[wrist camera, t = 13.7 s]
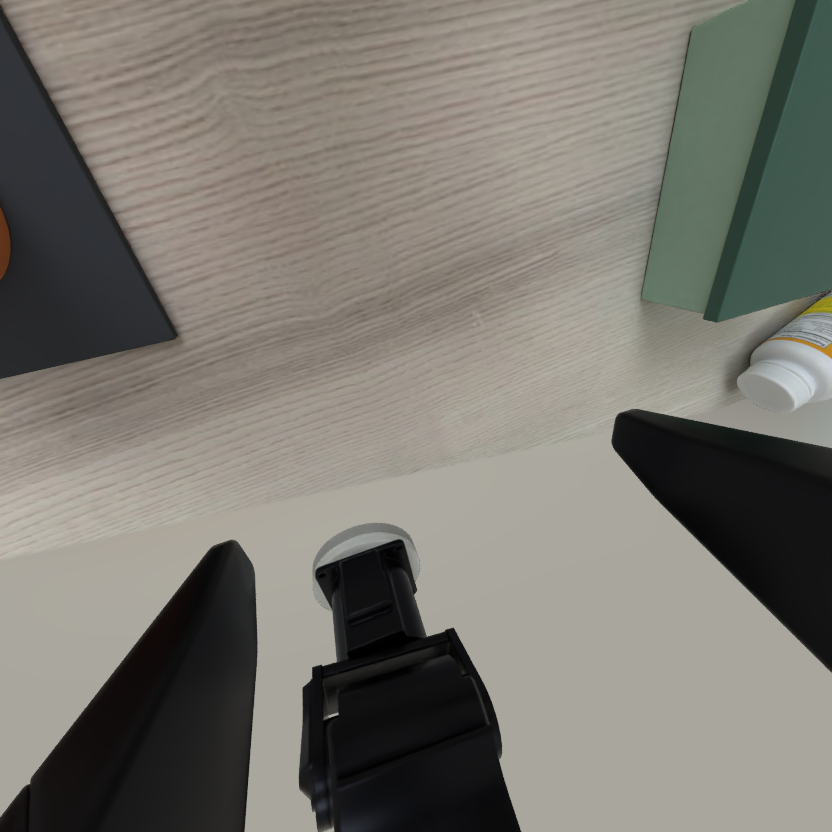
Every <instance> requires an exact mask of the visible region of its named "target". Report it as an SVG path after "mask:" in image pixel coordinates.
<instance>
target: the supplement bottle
mask: <svg viewBox="0 0 832 832" xmlns="http://www.w3.org/2000/svg"><path fill="white" fill-rule="evenodd" d="M750 364H751V366H750V367H749V368H748V369H747V370H746V371H745V372H743V373H742V374H741V375H740V376H739V377H738V379H737V385H738V388H739V390H740V391H741V393H742V394H743V395H744V396H745V397H746V398H747V399H748V400H750V401H751V402H753V403H754V404H756V405H758V406H759V407H761V408H763V409H766V410H768V411H772V412H776V413H789V412H792V411H794V410H795V409H797V408H798V407H799V406H801V405H803V404H805V403H806V402H821V401H826V400H829V399H832V291H831V292H829V293H828V294H827V295H825V296H824V297H823V298H821V299H820V300H819V301H817V302H816V303H815V304H813V305H812V306H811V307H809V308H808V309H807V310H806V311H804V312H803V313H802V314H800V315H799V316H798V317H796V318H795V319H794V320H792V321H791V322H790V323H788V324H787V325H786V326H785V327H783V328H782V329H781V330H779V331H778V332H777V333H775V334H774V335H773V336H771V337H770V338H769V339H768V340H766V341H765V342H764V343H762V344H761V345H760V346H759V347H757V348H756V349H755V350H754V352H753V353H752V355H751V359H750Z"/></svg>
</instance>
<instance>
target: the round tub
mask: <svg viewBox="0 0 832 832" xmlns="http://www.w3.org/2000/svg"><path fill="white" fill-rule="evenodd" d="M10 253H11V242H10V235H9V230H8V226H7V223H6V220H5V217H4V214H3V212H2V210H1V207H0V280H1V279H2V277H3V276H4V274H5V272H6V269H7V267H8V264H9V259H10Z"/></svg>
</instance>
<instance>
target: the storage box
mask: <svg viewBox="0 0 832 832" xmlns="http://www.w3.org/2000/svg"><path fill="white" fill-rule="evenodd" d="M831 289H832V0H748V1H745V2H743V3H741V4H739V5H737V6H735V7H733V8H731V9H729V10H727V11H725V12H723V13H721V14H719V15H717V16H715V17H713V18H711V19H709V20H706V21H704V22H702V23H700V24H698V25H696V26H694V27H693V28H692V32H691V37H690V42H689V48H688V53H687V58H686V64H685V69H684V74H683V79H682V85H681V90H680V95H679V101H678V106H677V111H676V117H675V122H674V127H673V132H672V138H671V143H670V148H669V154H668V159H667V164H666V169H665V175H664V180H663V185H662V191H661V196H660V201H659V207H658V212H657V217H656V222H655V228H654V233H653V238H652V244H651V249H650V254H649V259H648V265H647V270H646V275H645V281H644V286H643V291H642V297H641V299H642V300H647V301H651V302H655V303H659V304H664V305H668V306H672V307H677V308H681V309H685V310H689V311H694V312H698V313H702V314H704V316H703V319H704V320H708V321H712V322H716V323H717V322H721V321H724V320H728V319H731V318H735V317H738V316H742V315H745V314H748V313H752V312H755V311H759V310H762V309H766V308H769V307H772V306H776V305H779V304H783V303H786V302H790V301H793V300H797V299H800V298H803V297H807V296H810V295H814V294H817V293H821V292H824V291H827V290H831Z"/></svg>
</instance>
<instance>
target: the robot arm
mask: <svg viewBox="0 0 832 832" xmlns="http://www.w3.org/2000/svg"><path fill="white" fill-rule="evenodd" d="M612 446H613V448H614V450H615V451H616V452H617V453H618V454H619V456H620V457H621V458H622V459H623V461H624V462H625V463H626V464H627V465H628V466H629V468H630V469H631V470H632V471H633V472H634V474H635V475H636V476H637V477H638V478H639V479H640V481H641V482H642V483H643V484H644V485H645V487H646V488H647V489H648V490H649V491H650V492H651V494H652V495H653V496H654V497H655V498H656V499H657V500H658V501H659V502H660V503H661V504H662V505H663V506H664V507H665V508H666V509H667V510H668V511H669V512H670V513H671V514H672V515H673V516H674V517H675V518H676V519H677V520H678V521H679V522H680V523H681V524H682V525H683V526H684V527H685V528H686V529H687V530H688V531H689V532H690V533H691V534H692V535H693V536H694V537H695V538H696V539H697V540H698V541H699V542H700V543H701V544H702V545H703V546H704V547H705V548H706V549H707V550H708V551H709V552H710V553H711V554H712V555H713V556H714V557H715V558H716V559H717V560H718V561H719V562H720V563H721V564H722V565H723V566H724V567H725V568H726V569H727V570H728V571H729V572H730V573H731V574H732V575H733V576H735V578H736V579H737V580H739V582H740V583H742V584H743V585H744V586H745V587H746V588H747V589H748V590H749V591H750V592H751V593H752V594H753V595H754V596H755V597H756V598H757V599H758V600H759V601H760V602H761V603H762V604H763V605H764V606H765V607H766V608H767V609H768V610H769V611H770V612H771V613H772V614H773V615H774V616H775V617H776V618H777V619H778V620H779V621H780V622H781V623H782V624H783V625H784V626H785V627H786V628H787V629H788V630H789V631H790V632H791V633H792V634H793V635H794V636H795V637H796V638H797V639H798V640H799V641H800V642H801V643H802V644H803V645H804V646H805V647H806V648H807V649H808V650H809V651H810V652H811V653H812V654H813V655H814V656H815V657H816V658H817V659H818V660H819V661H820V662H822V664H824V665H825V667H826V668H827V669H829V670H830V671H831V672H832V448H828V447H823V446H818V445H813V444H808V443H803V442H798V441H793V440H788V439H783V438H778V437H773V436H768V435H763V434H758V433H753V432H748V431H743V430H738V429H733V428H728V427H723V426H718V425H713V424H709V423H703V422H698V421H694V420H688V419H683V418H679V417H674V416H669V415H664V414H659V413H654V412H649V411H644V410H639V409H631V410H628V411H625V412H622V413H620V414H618V415H617V417H616V419H615V424H614V429H613V435H612ZM315 579H316V581H317V582H318V584H319V586H320V588H321V590H322V592H323V594H324V596H325V598H326V600H327V601H328V603H329V605H330V607H331V609H332V611H333V623H334V634H335V643H336V657H337V662H336V663H332V664H329V665H325V666H322V665H319V666H315V667H313V668H312V679H311V681H310V682H309V683H308V684H307V685H305V686H304V687H303V726H302V740H301V753H300V767H299V789H300V790H301V791H302V792H303V793H304V794H305V795H306V796H307V797H308V798H309V799H310V800H311V805H312V811H313V812H314V811H316V822H317V829H318V832H324V831H327V830H329V829H331V828H333V827H334V832H521V830H520V827H519V824H518V821H517V818H516V815H515V812H514V809H513V806H512V803H511V800H510V797H509V794H508V790H507V787H506V784H505V781H504V777H503V774H502V770H501V766H500V762H499V759H500V758H501V755H502V742H501V734H500V730H499V725H498V721H497V717H496V714H495V710H494V708H493V704H492V702H491V699H490V697H489V694H488V692H487V689H486V687H485V685H484V683H483V682H482V680H481V678H480V676H479V674H478V672H477V670H476V668H475V667H474V665H473V663H472V661H471V659H470V657H469V655H468V654H467V652H466V650H465V648H464V646H463V644H462V643H461V641H460V639H459V637H458V635H457V633H456V631H455V629H454V628H450V629H447V630H445V632H442V633H439V634H435V635H432V636H428V637H427V636H426V633H425V630H424V626H423V623H422V620H421V617H420V613H419V610H418V607H417V604H416V600H415V597H414V594H415V593H416V591H417V588H416V584H415V581H414V577H413V573H412V569H411V566H410V562H409V558H408V554H407V551H406V547H405V544H404V541H403V540H401V539H397V540H394V541H391V542H388V543H385V544H382V545H380V546H377V547H374V548H371V549H368V550H365V551H363V552H360V553H357V554H354V555H351V556H348V557H346V558H343V559H340V560H337V561H334V562H331V563H329V564H326V565H323V566H320V567H318V568H317V569H316V570H315ZM256 667H257V618H256V593H255V572H254V568H253V565H252V563H251V561H250V560H249V558H248V557H247V555H246V554H245V552H244V551H243V549H242V548H241V546H240V545H239V543H238V542H237V541H235V540H229V541H226V542H223V543H220V544H217V545H214V546H213V547H211V548H210V549H209V551H208V552H207V553H206V555H205V556H204V557H203V558H202V560H201V561H200V562H199V564H198V565H197V566H196V567H195V569H194V570H193V571H192V572H191V574H190V575H189V576H188V578H187V579H186V580H185V581H184V583H183V584H182V585H181V587H180V588H179V589H178V590H177V592H176V593H175V594H174V596H173V597H172V598H171V599H170V601H169V602H168V603H167V605H166V606H165V607H164V608H163V610H162V611H161V612H160V614H159V615H158V616H157V617H156V619H155V620H154V621H153V623H152V624H151V625H150V626H149V628H148V629H147V630H146V631H145V633H144V634H143V635H142V637H141V638H140V639H139V640H138V642H137V643H136V644H135V645H134V647H133V648H132V650H131V651H130V652H129V653H128V655H127V656H126V657H125V658H124V660H123V661H122V662H121V663H120V665H119V666H118V667H117V669H116V670H115V671H114V673H113V674H112V675H111V676H110V678H109V679H108V680H107V681H106V683H105V684H104V685H103V687H102V688H101V689H100V690H99V692H98V693H97V694H96V695H95V697H94V698H93V699H92V701H91V702H90V703H89V704H88V706H87V707H86V708H85V710H84V711H83V712H82V713H81V715H80V716H79V717H78V719H77V720H76V721H75V722H74V724H73V725H72V726H71V728H70V729H69V730H68V731H67V733H66V734H65V735H64V736H63V738H62V739H61V740H60V742H59V743H58V744H57V745H56V747H55V748H54V749H53V751H52V752H51V753H50V754H49V756H48V757H47V758H46V760H45V761H44V762H43V763H42V765H41V766H40V767H39V769H38V770H37V771H36V772H35V774H34V775H33V776H32V778H31V781H30V784H29V785H26V786H25V787H24V788H23V789H22V790H21V791H20V793H19V794H18V795H17V796H16V798H15V799H14V800H13V802H12V803H11V804H10V806H9V807H8V808H7V809H6V811H5V812H4V813H3V814H2V816H1V817H0V832H244V830H245V816H246V802H247V789H248V776H249V762H250V748H251V734H252V722H253V721H252V720H253V708H254V695H255V681H256ZM337 712H338V713H339V715H337V716H334V717H331V718H329V717H328V715H331V714H334V713H337Z"/></svg>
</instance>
